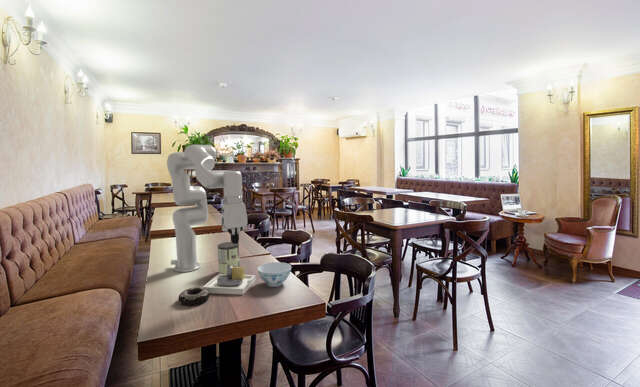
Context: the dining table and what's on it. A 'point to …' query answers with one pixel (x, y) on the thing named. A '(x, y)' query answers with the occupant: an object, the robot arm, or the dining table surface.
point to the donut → (193, 296)
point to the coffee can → (228, 256)
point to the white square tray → (239, 289)
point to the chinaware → (274, 273)
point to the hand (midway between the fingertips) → (235, 243)
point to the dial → (231, 277)
